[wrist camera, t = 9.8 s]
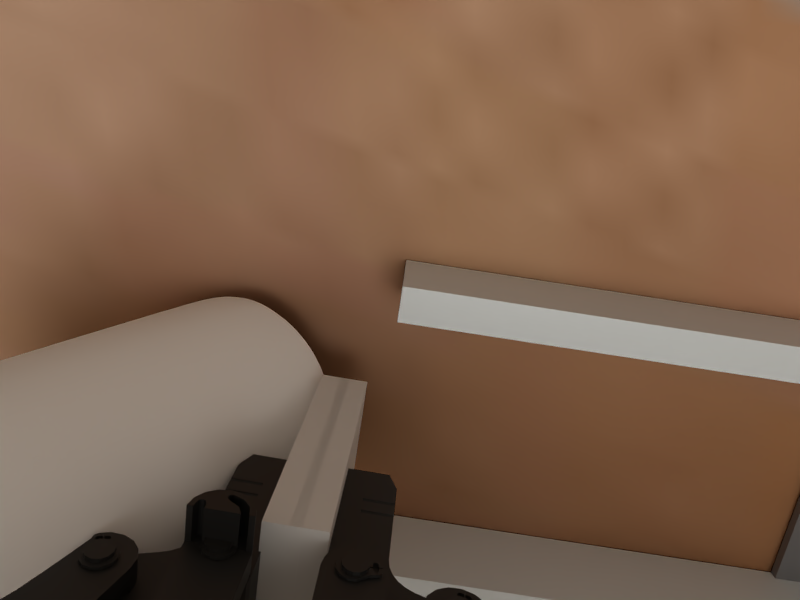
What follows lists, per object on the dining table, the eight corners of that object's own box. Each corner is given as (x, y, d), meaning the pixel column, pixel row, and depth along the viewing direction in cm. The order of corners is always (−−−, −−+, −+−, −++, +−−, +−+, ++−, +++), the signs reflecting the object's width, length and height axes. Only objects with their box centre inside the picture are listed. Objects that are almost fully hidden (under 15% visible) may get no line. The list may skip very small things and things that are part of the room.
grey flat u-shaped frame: (1051, 358, 20) (1154, 401, 17) (928, 621, 23) (998, 694, 20) (406, 259, 20) (403, 286, 17) (363, 535, 23) (354, 597, 20)
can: (338, 302, 19) (-136, 509, 8) (340, 510, 20) (-57, 931, 9) (156, 283, 21) (-398, 422, 10) (170, 471, 22) (-304, 767, 12)
